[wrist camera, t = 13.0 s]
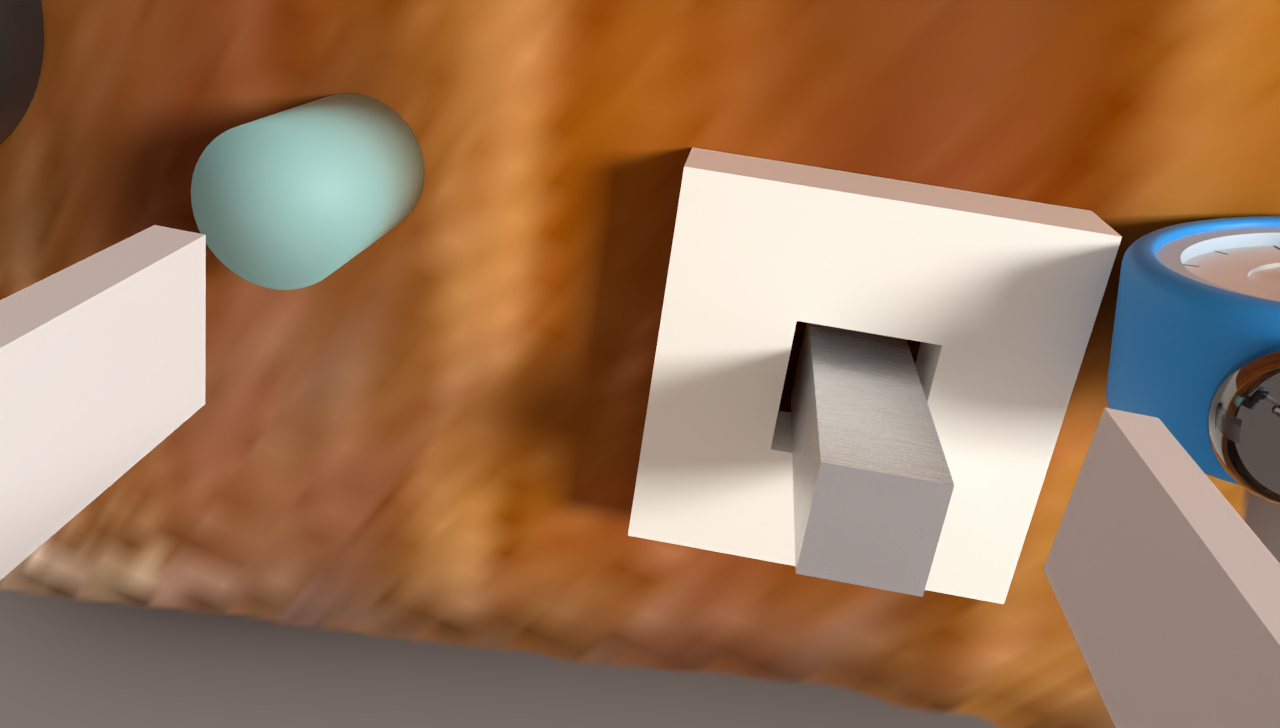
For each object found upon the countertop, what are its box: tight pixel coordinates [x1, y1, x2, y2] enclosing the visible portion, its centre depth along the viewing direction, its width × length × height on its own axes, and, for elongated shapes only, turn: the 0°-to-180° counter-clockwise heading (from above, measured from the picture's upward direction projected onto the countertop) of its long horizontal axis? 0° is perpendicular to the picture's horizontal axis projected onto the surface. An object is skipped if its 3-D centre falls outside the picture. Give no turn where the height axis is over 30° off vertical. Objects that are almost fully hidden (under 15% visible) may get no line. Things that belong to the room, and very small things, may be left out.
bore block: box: [628, 147, 1122, 604], centre depth 43 cm, size 16×16×4 cm
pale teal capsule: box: [191, 93, 424, 290], centre depth 41 cm, size 6×6×8 cm
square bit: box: [791, 323, 954, 597], centre depth 39 cm, size 4×4×14 cm
